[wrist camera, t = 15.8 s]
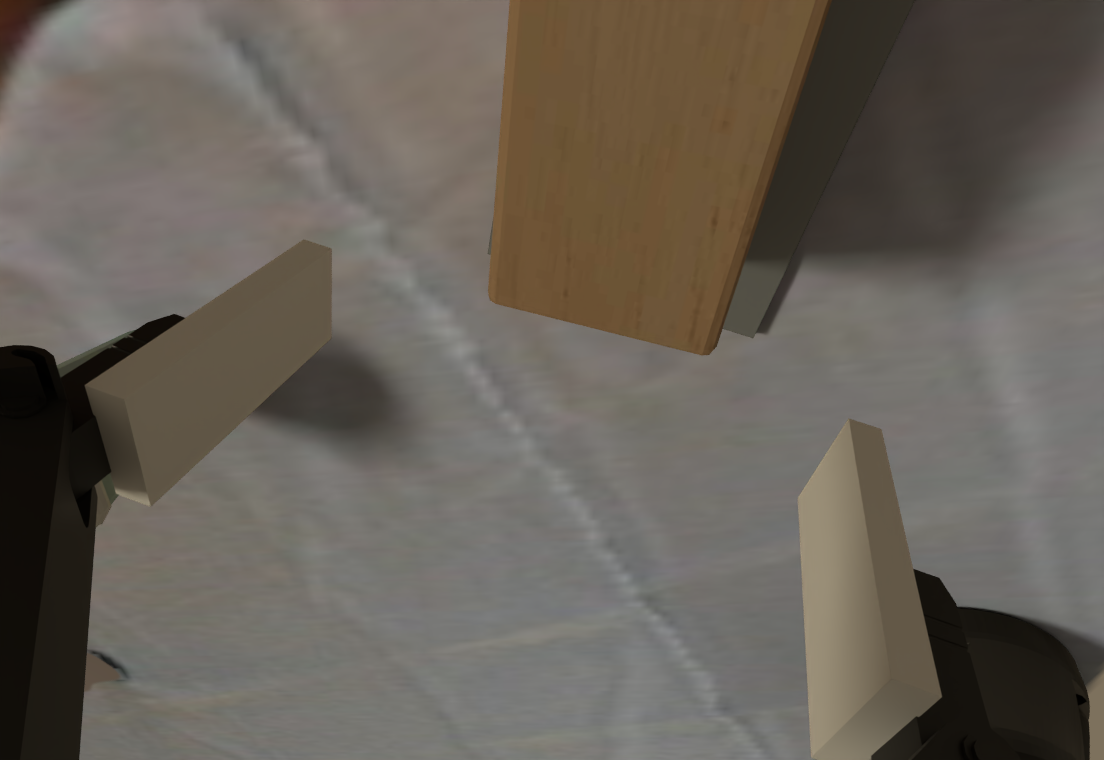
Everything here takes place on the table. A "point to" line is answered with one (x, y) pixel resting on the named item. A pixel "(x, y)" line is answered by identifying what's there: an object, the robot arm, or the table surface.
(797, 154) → the mat
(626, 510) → the table surface
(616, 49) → the wooden block
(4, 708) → the robot arm
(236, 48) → the table surface
